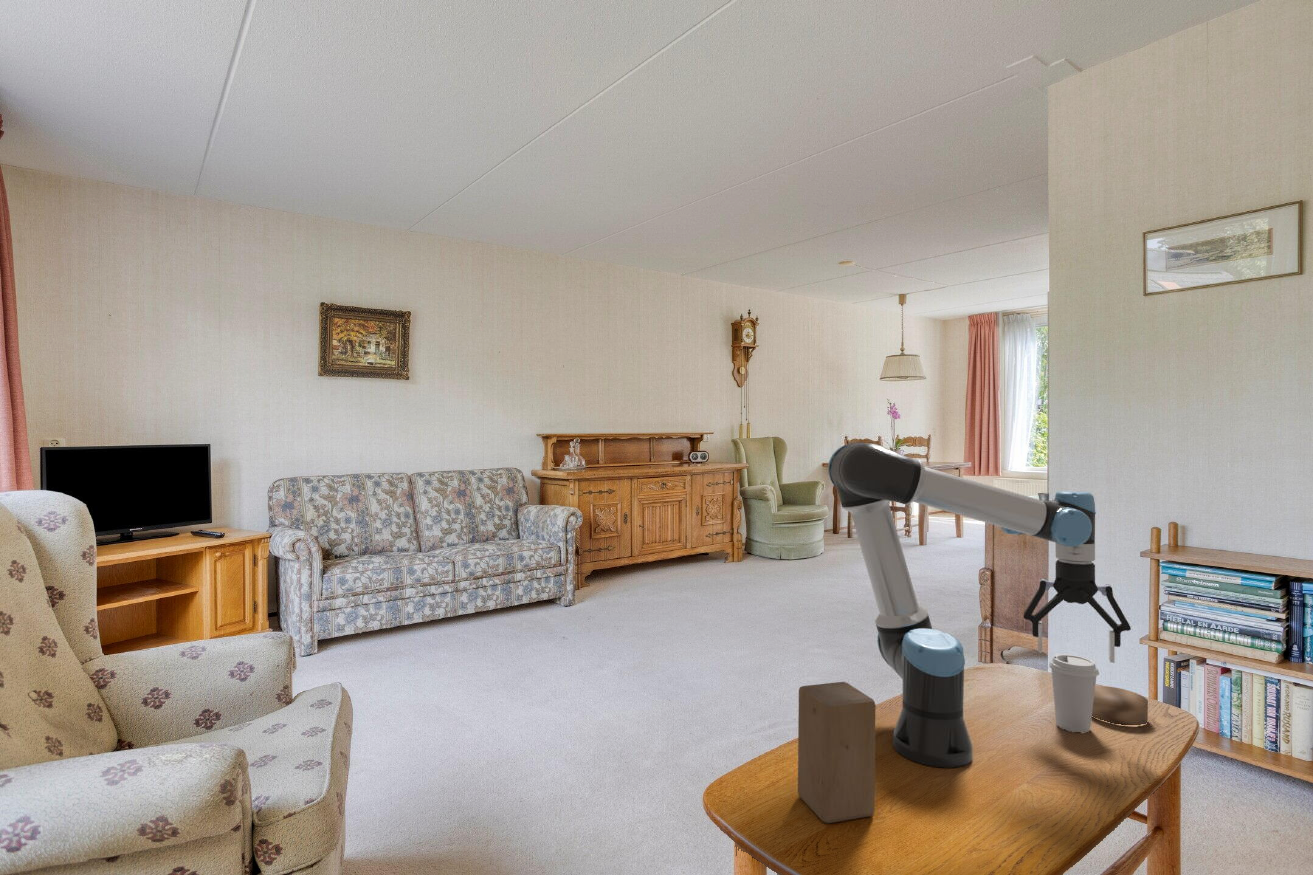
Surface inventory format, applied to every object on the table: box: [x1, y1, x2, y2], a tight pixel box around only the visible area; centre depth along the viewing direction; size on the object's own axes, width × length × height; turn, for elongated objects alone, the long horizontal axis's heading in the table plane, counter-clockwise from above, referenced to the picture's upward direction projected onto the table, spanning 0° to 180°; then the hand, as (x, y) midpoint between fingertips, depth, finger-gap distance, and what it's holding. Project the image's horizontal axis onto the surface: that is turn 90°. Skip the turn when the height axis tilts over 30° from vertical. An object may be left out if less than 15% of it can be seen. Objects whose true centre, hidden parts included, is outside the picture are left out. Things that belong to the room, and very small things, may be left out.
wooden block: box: [797, 681, 876, 824], centre depth 118 cm, size 10×10×20 cm
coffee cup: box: [1048, 653, 1100, 733], centre depth 151 cm, size 10×10×15 cm
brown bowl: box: [1092, 685, 1149, 725], centre depth 158 cm, size 12×12×5 cm
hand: (1075, 656), depth 151 cm, fingers open, 13 cm apart
